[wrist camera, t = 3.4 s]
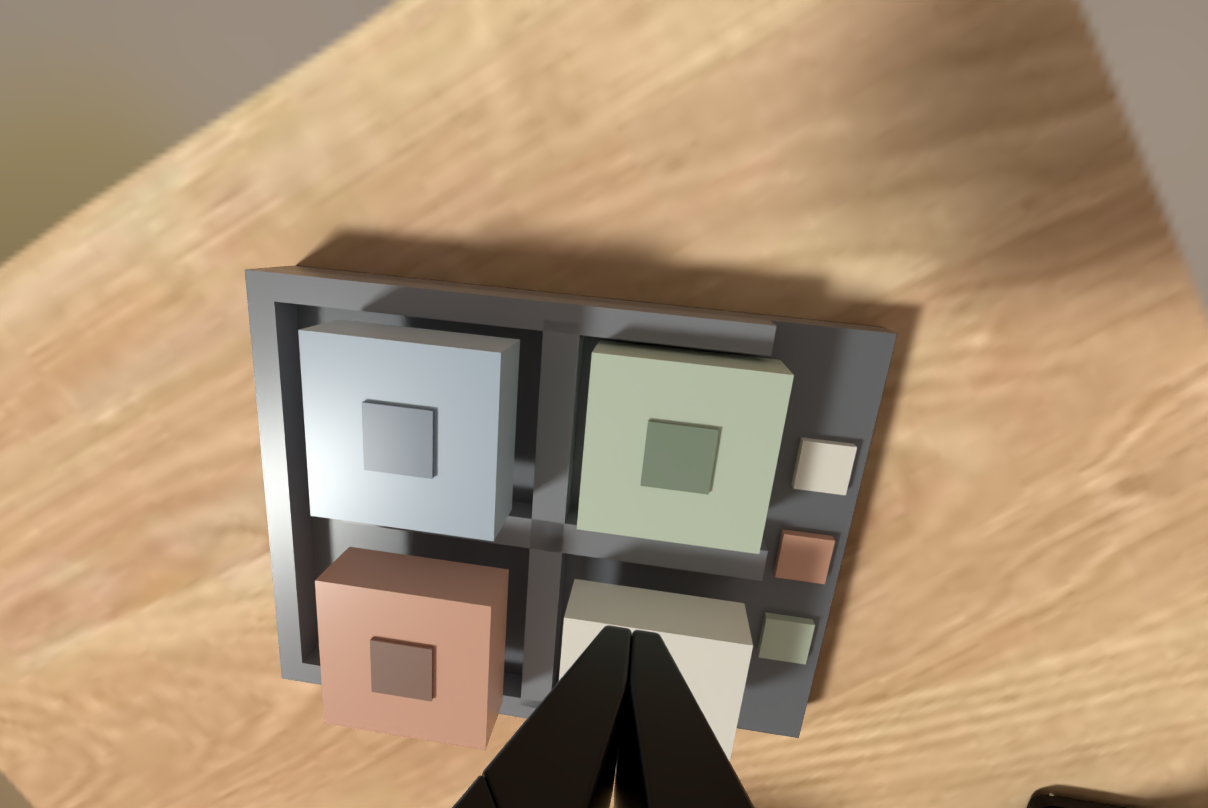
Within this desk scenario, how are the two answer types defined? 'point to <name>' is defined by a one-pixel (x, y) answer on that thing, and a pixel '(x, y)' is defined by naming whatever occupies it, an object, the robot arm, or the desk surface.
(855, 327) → the grey compartment tray
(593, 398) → the key sage
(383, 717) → the key terracotta
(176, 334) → the desk surface
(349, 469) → the key slate
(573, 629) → the key ivory
